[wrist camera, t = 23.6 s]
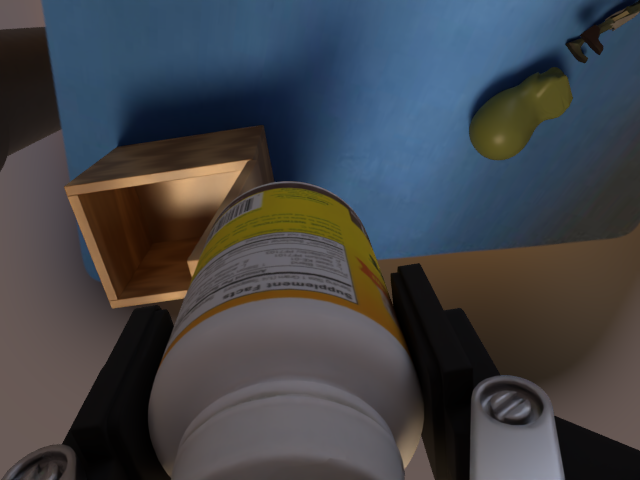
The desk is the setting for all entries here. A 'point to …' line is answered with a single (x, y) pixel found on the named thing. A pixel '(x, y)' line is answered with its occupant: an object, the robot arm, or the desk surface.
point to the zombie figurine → (594, 32)
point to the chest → (158, 208)
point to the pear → (519, 114)
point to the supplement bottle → (286, 351)
